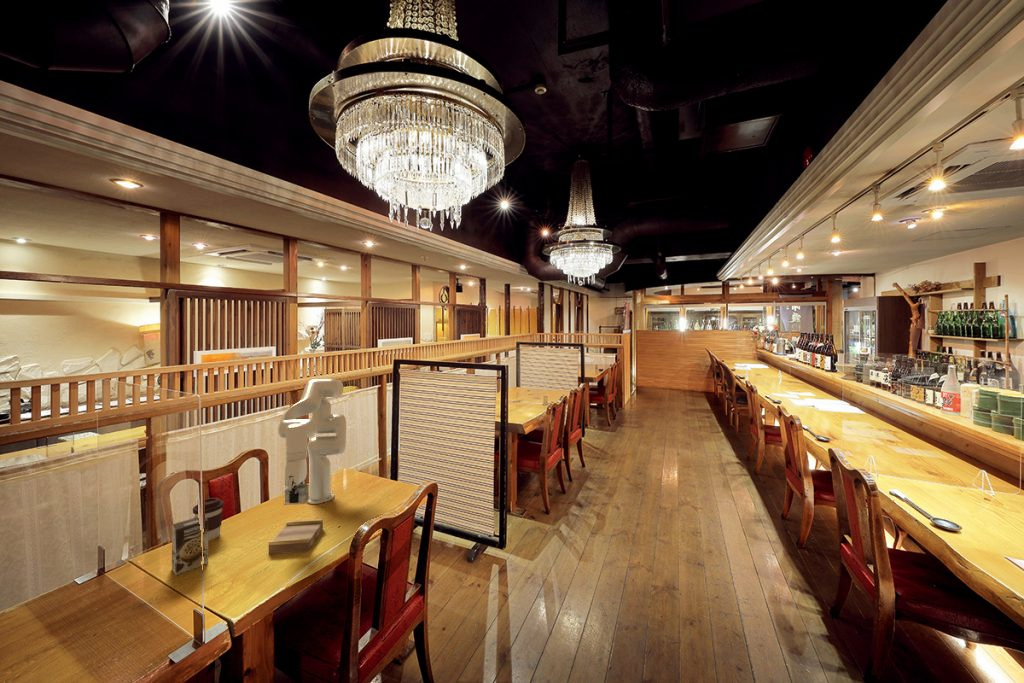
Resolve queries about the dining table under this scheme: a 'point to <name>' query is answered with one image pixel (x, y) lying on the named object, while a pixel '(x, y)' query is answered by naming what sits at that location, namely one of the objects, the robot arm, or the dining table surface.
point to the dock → (296, 536)
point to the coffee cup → (212, 516)
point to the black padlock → (303, 495)
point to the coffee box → (188, 545)
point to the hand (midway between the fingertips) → (297, 499)
